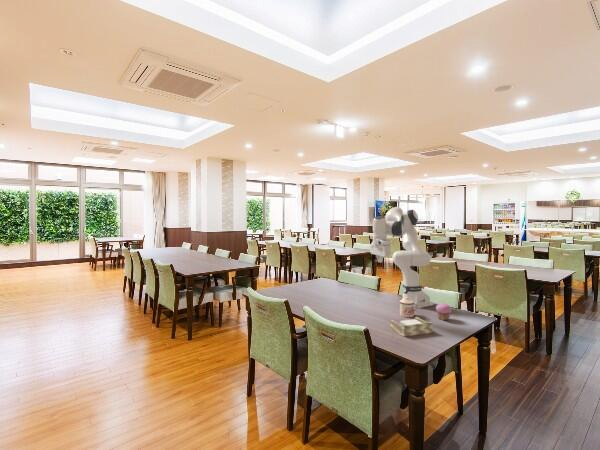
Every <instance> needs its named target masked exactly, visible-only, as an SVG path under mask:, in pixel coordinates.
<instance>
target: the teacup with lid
mask: <svg viewBox="0 0 600 450" xmlns="http://www.w3.org/2000/svg"><path fill="white" fill-rule="evenodd" d="M414 305H416V307H414ZM417 307H418V306H417V304H415V303H414V301H412V300H410V299H408V297H405V299H403V300H402V299H400V300H399V315H400V316H401V317H403V318H412V317H414V316H415V312H416V311H417V310H418V308H417Z"/></svg>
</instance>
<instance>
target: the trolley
mask: <svg viewBox="0 0 600 450" xmlns="http://www.w3.org/2000/svg"><path fill="white" fill-rule="evenodd" d="M420 323H421V322H419V321H418V320H416V319H415V318H413V319H405V320H399V324H400V325H402V326H405V325H413V324H420Z"/></svg>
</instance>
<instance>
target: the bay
mask: <svg viewBox="0 0 600 450" xmlns="http://www.w3.org/2000/svg"><path fill="white" fill-rule="evenodd" d="M414 319H416V320H418V321H419V322H421V323H420V324H413V325H405V326H402V325H400V323H399V322H397V321H395V320H393V319H390V320H389V328H390V329H391V330H392V331H394V332H396V333H397V334H399V335H401V336H402V337H411V336H416V335H424V334H432V333H433V322H432V321H430V322H429V321H428V322H427V321H426V320H424V319H422V318H420V317H418V316H416V317H414Z"/></svg>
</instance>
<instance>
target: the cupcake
mask: <svg viewBox="0 0 600 450" xmlns="http://www.w3.org/2000/svg"><path fill="white" fill-rule="evenodd" d="M435 310H436V312H437V316H438V319H439V320H442V321H446V320H447V321H448V320H449V319H450V316H451V313H452V312H453V311H452V310H453V309H452V307H451V306H450V305H449V304H448V303H446V302H441V303H438V304H437V305H436V306H435Z"/></svg>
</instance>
